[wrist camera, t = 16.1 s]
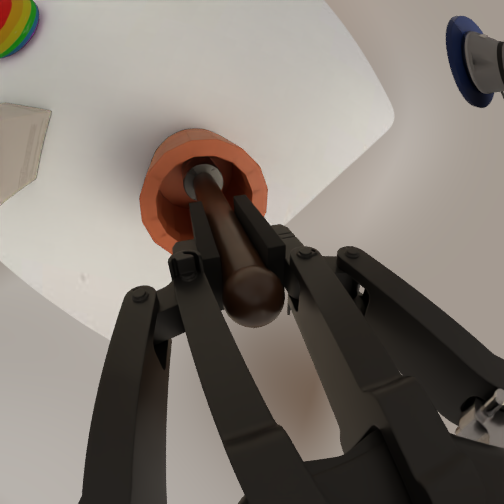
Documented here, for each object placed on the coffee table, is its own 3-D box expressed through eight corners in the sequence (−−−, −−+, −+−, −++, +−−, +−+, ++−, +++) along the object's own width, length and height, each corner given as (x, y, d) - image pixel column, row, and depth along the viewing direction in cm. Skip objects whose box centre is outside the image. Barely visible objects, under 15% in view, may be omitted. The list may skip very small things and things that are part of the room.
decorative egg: (56, 22, 16) (21, 0, 8) (11, 72, 17) (-34, 69, 8) (32, -5, 11) (-1, -27, 3) (-11, 42, 12) (-52, 35, 4)
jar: (248, 146, 31) (287, 167, 22) (216, 220, 35) (238, 271, 25) (168, 117, 27) (166, 121, 17) (140, 197, 31) (126, 243, 21)
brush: (212, 151, 28) (313, 265, 9) (215, 182, 30) (305, 337, 11) (179, 155, 27) (204, 287, 8) (183, 186, 29) (218, 359, 10)
